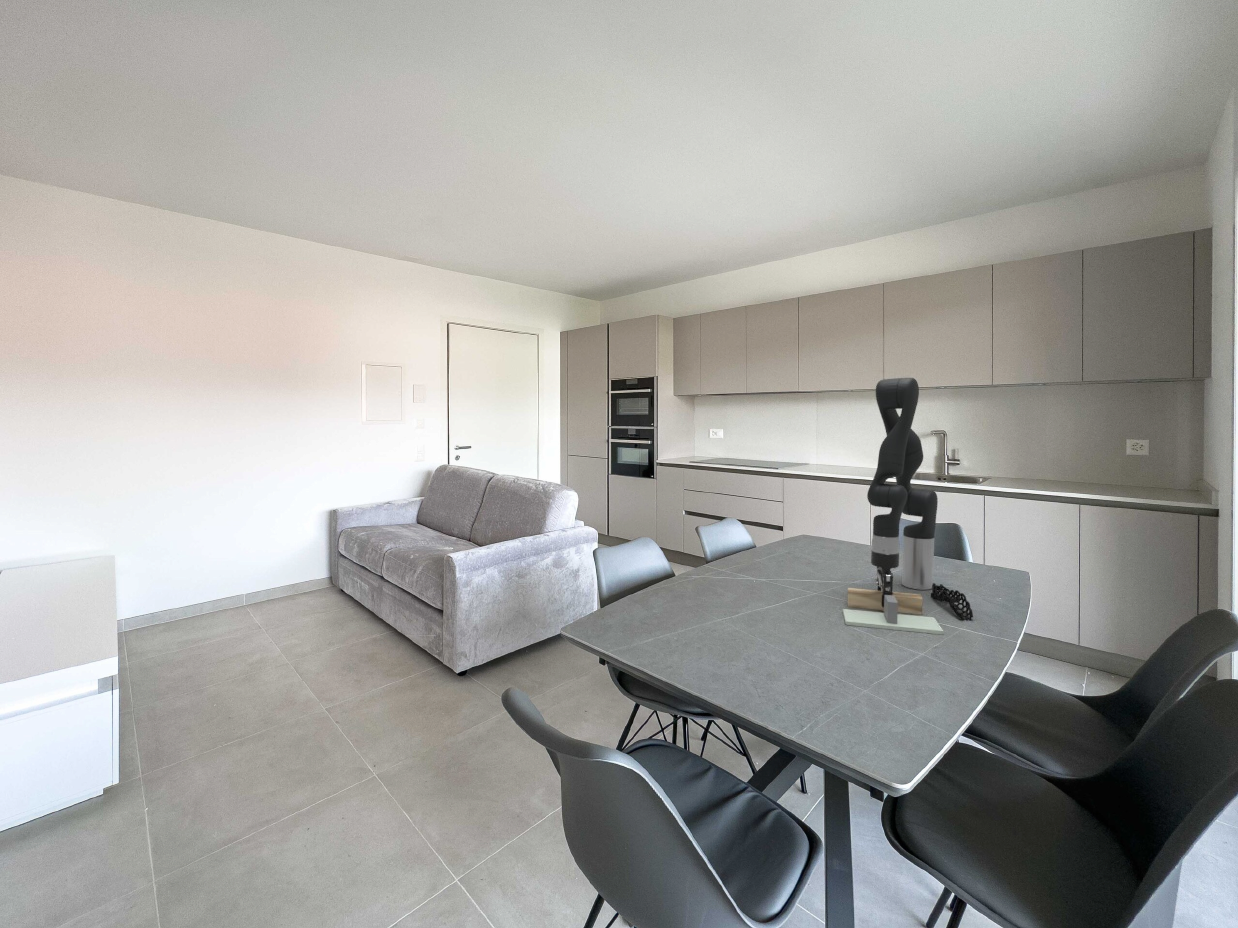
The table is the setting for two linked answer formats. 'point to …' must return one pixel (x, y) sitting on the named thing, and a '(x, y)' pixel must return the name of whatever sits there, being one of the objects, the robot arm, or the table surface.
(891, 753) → the table surface
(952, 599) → the decorative element
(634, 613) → the table surface
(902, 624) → the fulcrum
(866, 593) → the plank
